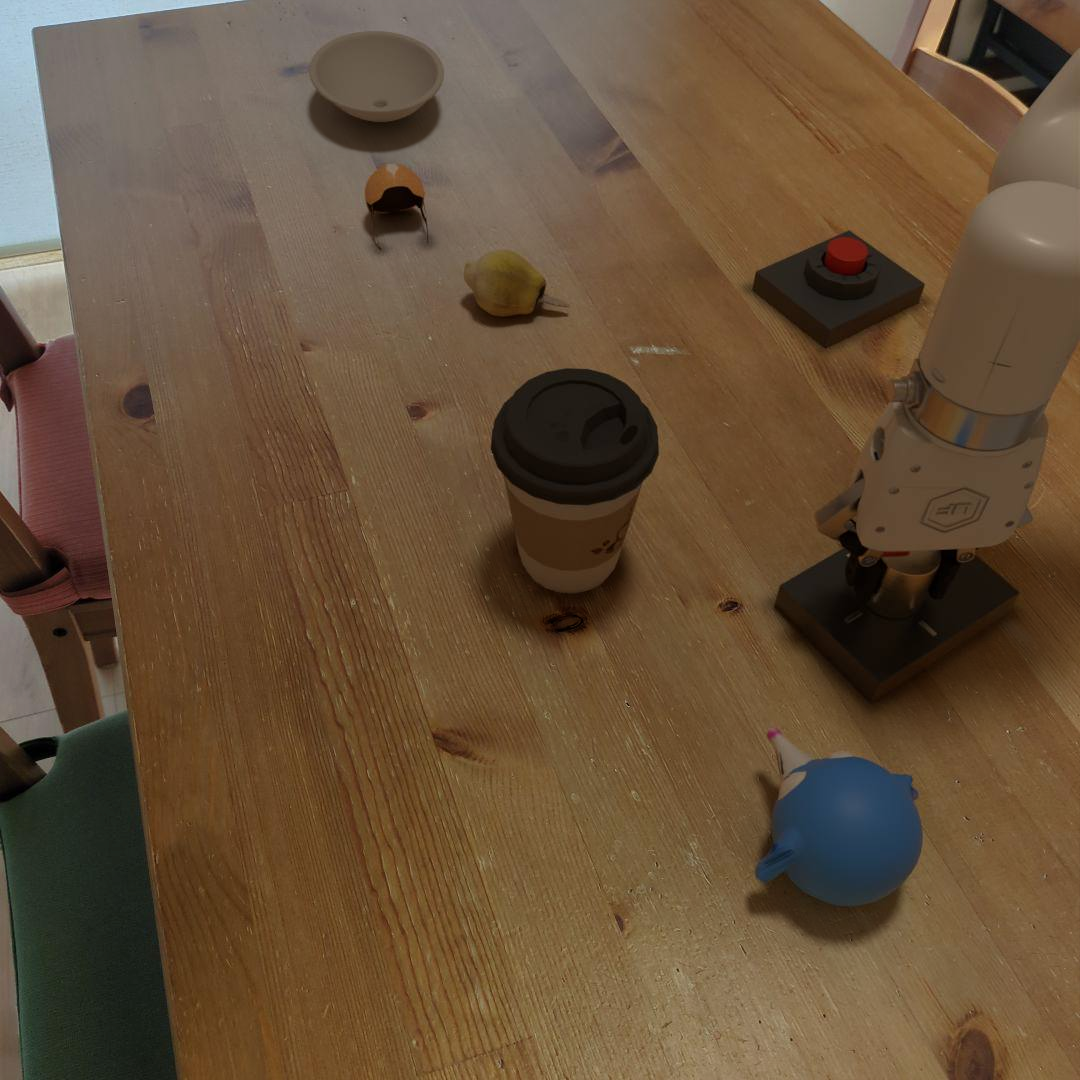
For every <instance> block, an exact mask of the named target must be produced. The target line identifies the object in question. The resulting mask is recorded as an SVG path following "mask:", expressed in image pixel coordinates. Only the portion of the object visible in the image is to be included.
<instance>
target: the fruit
mask: <svg viewBox="0 0 1080 1080" xmlns="http://www.w3.org/2000/svg"><path fill="white" fill-rule="evenodd" d="M463 279H464V282H465V283H466V285H467V286H468V287H469V288H470V290H471V291H472V294H473V296H474V298H475V301H476V303H477V305H478V306H479V308H481V309H482V310H484V311H485V312H487V313H488V314H489V315H490V316H494V317H500V318H503V317H504V318H505V317H511V316H516V315H529V314H531V313H533V311H534V310H535V309H537V307H538V306H539V303H545V304H547V305H550V306H555V307H561V308H570V306H571V304H570V303H568V302H566V301H564V300H563V299H559V298H557V297H555V296H550V295H549V294H546V293H545V291H546V287H547V280H546V278H545V277H544V276H543V275H542V273H540V272H539V271H538V270H537V269H535V268H534V266H533V265H532V264H531V263H529V261H527V259H525V257H523V256H522V255H520V254H519V253H517V252H516V251H513V250H509V249H495V250H492V251H488V252H486V253H485V254H482V255H481V256H480V257H479V258H478V259H477V260H474V261H469V260H467V261H466V263H465V265H464V269H463Z"/></svg>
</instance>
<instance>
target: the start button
mask: <svg viewBox="0 0 1080 1080" xmlns="http://www.w3.org/2000/svg"><path fill="white" fill-rule="evenodd" d="M867 255H868V250H867V247H866V246H865V245H864V244H863V243H862V242H860V241H858V240H856V239H853V238H847V237H841V238H836V239H834V240H832V241H831V242H830V243H829V244H828V247H827V251H826V255H825V259H824V264H825V267H826V268H827V269H828V270H830V271H831V272H833V273H836V274H840V275H843V276H855V275H858V274H859V273H861V272H862V270H863V268H864V265H865V261H866V258H867Z"/></svg>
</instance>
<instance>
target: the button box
mask: <svg viewBox="0 0 1080 1080" xmlns="http://www.w3.org/2000/svg"><path fill="white" fill-rule="evenodd" d="M841 237H847V238H853V239H856V240H858V241H860V242H862V243H863V244H864V245H865V246H866V247H867V250H868V255H867V258H866V261H865V265H864V268H863V270H862V272H861V273H859V274H858V275H855V276H843V275H840V274H836V273H833V272H831V271H830V270H828V269H827V268H826V267H825V264H824V259H825V255H826V251H827V247H828V244H829V243H830V242H831V241H832V240H834V239H836V238H841ZM925 287H926V283H925V282H924V281H922V280H920V279H919V278H918V277H916V276H915V275H913V274H912V273H911V272H909V271H908V270H906V269H905V268H903V267H902V266H901V265H899V264H898V263H897V262H895V261H894V260H892V259H891V258H890V257H888V256H886V255H885V254H884V253H882V252H881V251H879V250H878V249H876V248H875V247H874V246H873V245H871V244H870V243H868V242H867V241H866V240H864V239H863V238H861V237H860V236H858V235H857V234H856V233H854V232H853V231H852V230H851V229H849V230H846V231H844V232H842V233H840V234H836V235H835V236H833V237H830V238H828V239H826V240H824V241H821V242H819V243H817V244H815V245H812V246H810V247H808V248H805V249H804V250H800V251H799V252H796V253H794V254H792V255H790V256H788V257H787V256H786V257H785V258H782V259H781V260H778V261H775V262H774V263H772V264H770V265H768V266H765V267H763V268H761V269H758V270H756V271H755V274H754V279H753V284H752V289H751V290H752V291H753V292H754V293H755V294H757V295H758V296H759V297H760V298H762V299H763V300H765V302H767V303H768V304H769V305H770V306H772V307H773V308H774V309H775V310H777V311H778V312H779V313H780V314H782V315H783V316H784V317H785V318H787V319H788V320H789V321H790V322H792V323H793V324H794V325H796V326H797V327H798V328H799V329H801V330H802V331H803V332H804V333H805V334H806V335H808V336H809V337H810V338H812V339H813V340H814V341H816V343H818V344H819V345H820V346H821V347H822V348H825V349H826V348H829V347H830V346H833V345H834V344H836V343H838V342H841V341H843V340H845V339H847V338H849V337H851V336H853V335H855V334H857V333H859V332H861V331H863V330H865V329H868V328H869V327H871V326H873V325H876V324H878V323H879V322H881V321H883V320H885V319H888V318H890V317H892V316H895V315H896V314H898V313H899V312H902V311H904V310H907V309H908V308H910V307H912V306H914V305H916V304H918V303H920V300H921V297H922V294H923V292H924V289H925Z"/></svg>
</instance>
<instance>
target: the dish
mask: <svg viewBox="0 0 1080 1080" xmlns="http://www.w3.org/2000/svg"><path fill="white" fill-rule="evenodd" d="M308 69H309V71H308V73H309V78H310V81H311V83H312V85H313V87H314V88H315V90H316V91H317V92H318V93H319V94H320V96H322V97H323V98H324V99H326V100H327V101H329V102H331V103H332V104H333V105H335V106H336V107H337V108H339V109H340V110H341V111H343V112H344V113H346V114H348V115H350V116H352V117H355V118H357V119H360V120H363V121H368V122H376V123H388V122H394V121H398V120H401V119H403V118H406V117H408V116H410V115H412V114H413V113H415V112H416V111H417V110H419V109H420V108H421V107H422V106H424V104H425V103H426V102H428V101H430V100H431V99H432V98H433V97H434V96H435V95H436V94H437V93H438V91H440V89H441V87H442V85H443V83H444V78H445V72H444V71H445V69H444V65H443V62H442V60H441V59H440V56H438V54H437V53H436V52H435V51H434V50H433V49H432V48H430V46H428V45H427V44H426V43H423V42H422V41H421V40H418V39H416V38H413V37H411V36H408V35H405V34H401V33H397V32H391V31H383V30H382V31H381V30H367V31H357V32H352V33H347V34H345V35H341V36H339V37H336V38H334V39H332V40H330V41H328V42H327V43H325V44H324V45H322V46H320V48H319V49H317V51H316V52H315V53H314V55H313V56H312V58H311V61H310V63H309V67H308Z"/></svg>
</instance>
